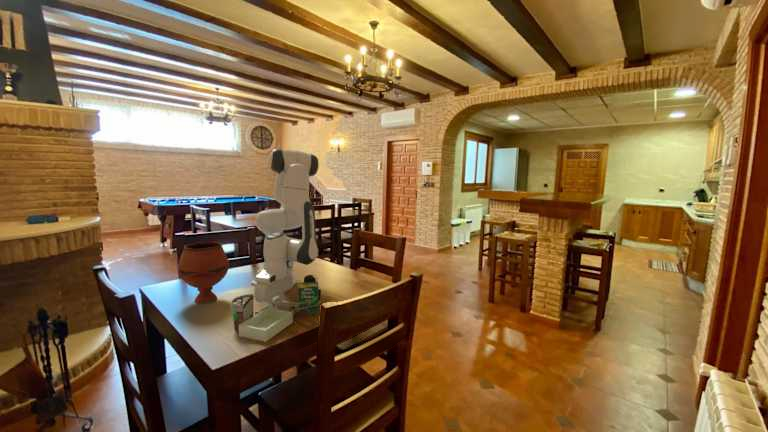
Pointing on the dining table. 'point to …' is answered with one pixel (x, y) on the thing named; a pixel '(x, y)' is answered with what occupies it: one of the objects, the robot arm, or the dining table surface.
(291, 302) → the beech tray
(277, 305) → the off-white cube
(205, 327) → the dining table surface
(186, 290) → the dining table surface
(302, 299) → the coffee box
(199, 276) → the goblet
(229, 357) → the dining table surface
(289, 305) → the pale grey cube
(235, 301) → the food container
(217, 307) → the dining table surface
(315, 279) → the beige square canister
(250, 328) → the sage bin
